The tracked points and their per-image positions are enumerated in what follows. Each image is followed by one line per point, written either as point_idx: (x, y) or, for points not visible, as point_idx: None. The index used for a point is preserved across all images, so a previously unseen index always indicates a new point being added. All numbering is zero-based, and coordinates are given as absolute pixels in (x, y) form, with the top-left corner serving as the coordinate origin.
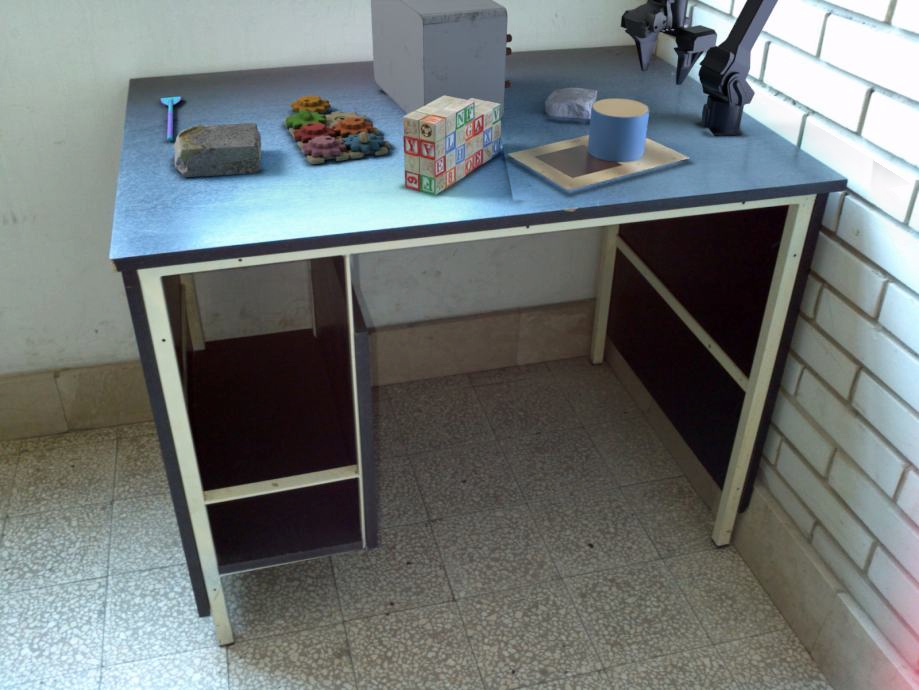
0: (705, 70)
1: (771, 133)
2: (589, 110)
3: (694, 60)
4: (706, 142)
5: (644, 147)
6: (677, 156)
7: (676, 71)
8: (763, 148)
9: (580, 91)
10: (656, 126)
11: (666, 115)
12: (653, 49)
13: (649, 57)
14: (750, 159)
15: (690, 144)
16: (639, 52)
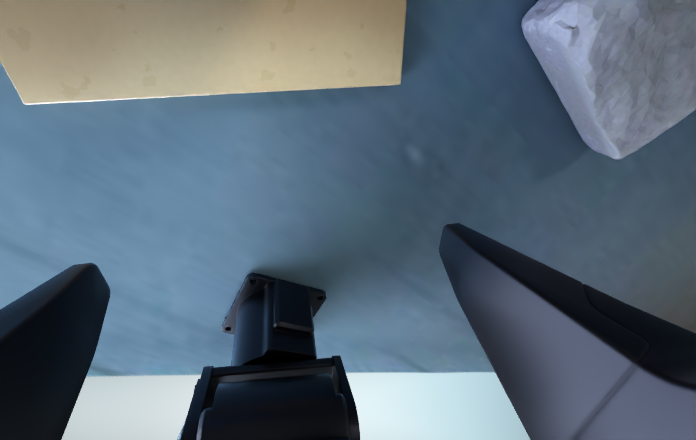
0: (311, 429)
1: None
2: (552, 19)
3: None
4: (211, 245)
5: (180, 7)
6: (45, 68)
7: (11, 335)
8: (130, 327)
9: (664, 103)
10: (371, 199)
11: (412, 258)
12: (504, 388)
13: (478, 319)
14: (53, 274)
15: (211, 202)
16: (562, 289)
